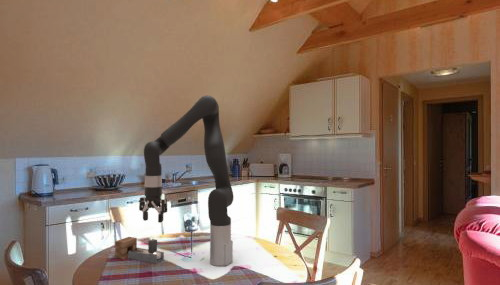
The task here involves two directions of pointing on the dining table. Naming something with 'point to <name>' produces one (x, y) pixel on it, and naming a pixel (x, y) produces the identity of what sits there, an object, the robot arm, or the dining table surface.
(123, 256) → the walnut socket block
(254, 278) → the dining table surface
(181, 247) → the dining table surface
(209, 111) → the robot arm
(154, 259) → the metal channel
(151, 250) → the grey slider with post
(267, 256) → the dining table surface
